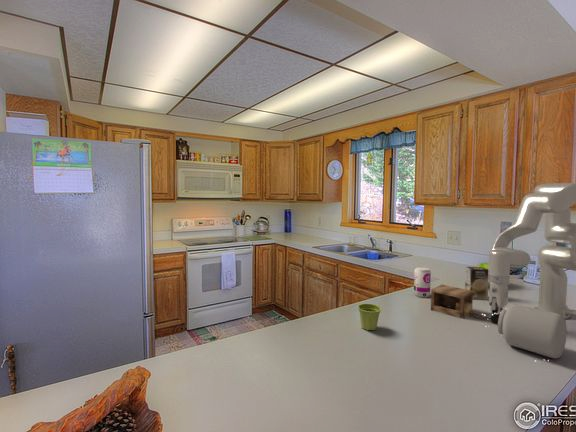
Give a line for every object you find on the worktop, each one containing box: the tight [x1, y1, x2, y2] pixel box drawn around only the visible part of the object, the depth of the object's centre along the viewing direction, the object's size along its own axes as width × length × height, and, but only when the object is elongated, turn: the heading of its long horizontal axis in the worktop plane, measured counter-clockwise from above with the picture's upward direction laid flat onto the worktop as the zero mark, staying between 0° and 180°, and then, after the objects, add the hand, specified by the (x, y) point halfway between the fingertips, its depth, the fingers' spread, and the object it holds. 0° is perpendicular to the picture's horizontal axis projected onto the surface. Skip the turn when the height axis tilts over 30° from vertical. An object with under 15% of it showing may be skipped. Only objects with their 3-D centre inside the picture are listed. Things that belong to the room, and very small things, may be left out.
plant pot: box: [357, 302, 382, 331], centre depth 127 cm, size 9×9×9 cm
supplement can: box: [413, 266, 432, 299], centre depth 168 cm, size 8×8×15 cm
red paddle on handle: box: [455, 301, 502, 325], centre depth 137 cm, size 17×5×6 cm, turn 41°
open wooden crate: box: [430, 284, 474, 319], centre depth 145 cm, size 14×12×10 cm
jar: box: [481, 304, 568, 362], centre depth 111 cm, size 19×15×25 cm
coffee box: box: [464, 266, 489, 301], centre depth 164 cm, size 9×6×16 cm
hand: (496, 320), depth 132 cm, fingers closed on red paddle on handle, 3 cm apart
